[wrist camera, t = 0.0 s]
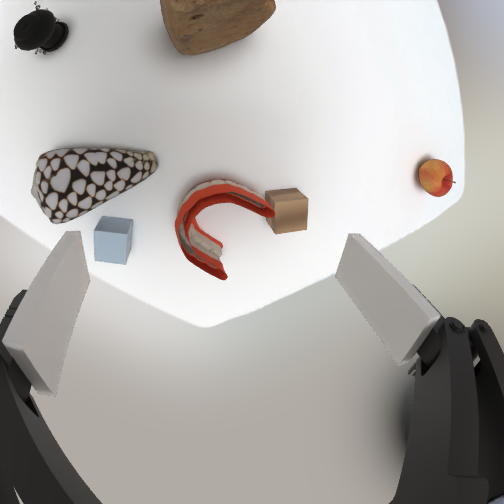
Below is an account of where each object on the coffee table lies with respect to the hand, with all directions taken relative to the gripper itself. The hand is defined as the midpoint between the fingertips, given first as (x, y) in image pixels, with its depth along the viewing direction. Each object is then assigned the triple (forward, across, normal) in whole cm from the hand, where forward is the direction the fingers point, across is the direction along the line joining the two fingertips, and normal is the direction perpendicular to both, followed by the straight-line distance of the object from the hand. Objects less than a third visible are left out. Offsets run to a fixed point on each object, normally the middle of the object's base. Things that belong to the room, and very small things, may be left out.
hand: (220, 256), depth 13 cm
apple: (+28, +44, +2) cm, 52 cm away
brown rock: (+28, 0, +18) cm, 34 cm away
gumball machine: (+28, -24, +19) cm, 41 cm away
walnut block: (+28, +14, -8) cm, 32 cm away
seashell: (+28, -15, -2) cm, 32 cm away
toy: (+28, +3, -9) cm, 30 cm away
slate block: (+28, -12, -13) cm, 33 cm away
